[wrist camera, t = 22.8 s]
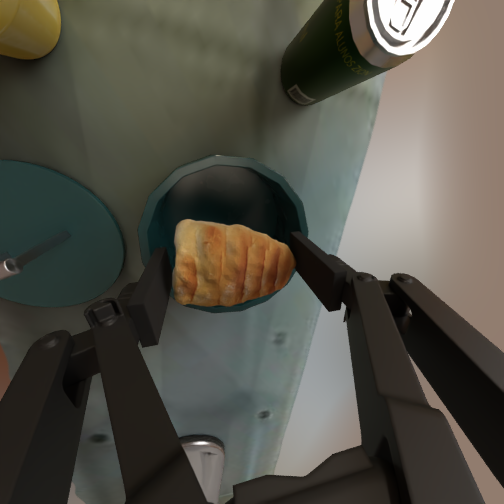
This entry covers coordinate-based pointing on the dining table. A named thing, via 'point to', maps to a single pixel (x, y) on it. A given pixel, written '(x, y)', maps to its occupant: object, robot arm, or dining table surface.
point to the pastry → (227, 264)
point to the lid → (54, 238)
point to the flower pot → (29, 27)
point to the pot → (221, 208)
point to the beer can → (356, 43)
